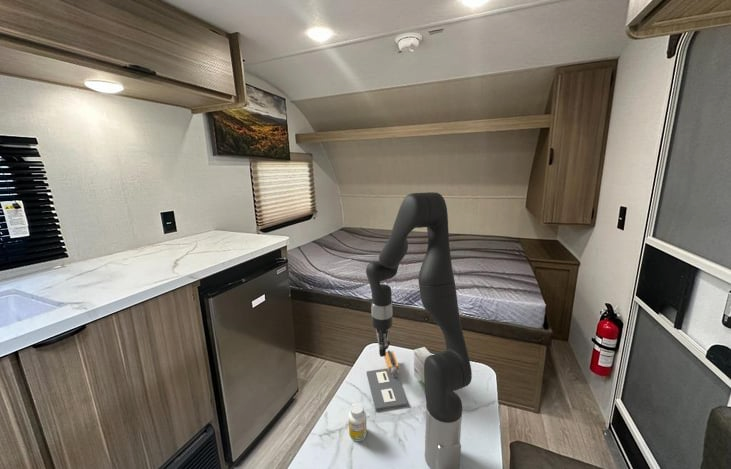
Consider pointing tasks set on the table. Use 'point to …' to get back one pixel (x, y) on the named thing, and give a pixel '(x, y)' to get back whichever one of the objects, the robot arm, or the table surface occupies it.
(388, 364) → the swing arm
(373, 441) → the table surface
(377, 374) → the tray
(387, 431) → the table surface
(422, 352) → the ink box
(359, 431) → the supplement bottle
